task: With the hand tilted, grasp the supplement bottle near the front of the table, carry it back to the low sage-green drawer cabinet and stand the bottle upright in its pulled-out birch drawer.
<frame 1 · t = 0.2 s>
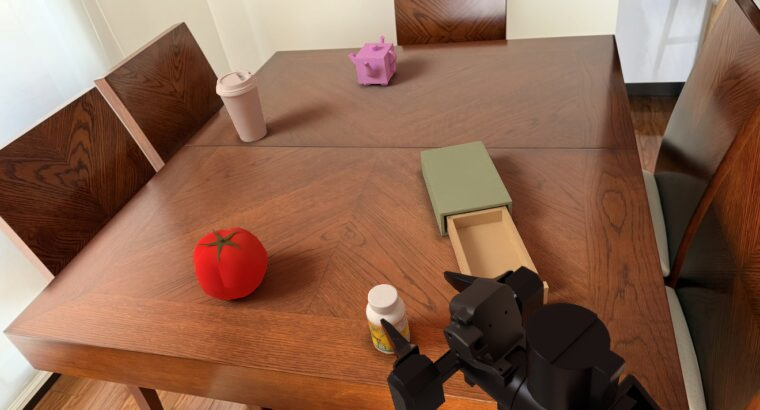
hand: (414, 297, 54), 18 cm above the table, tool horizontal, fingers open, 9 cm apart
drawer: (495, 266, 76), point 3 cm above the table, slide at 17.0 cm
cabinet: (463, 196, 94), on the table
coffee cup: (254, 135, 123), on the table
tomato: (241, 285, 84), on the table
supplement bottle: (391, 339, 72), on the table
teapot: (376, 80, 137), on the table
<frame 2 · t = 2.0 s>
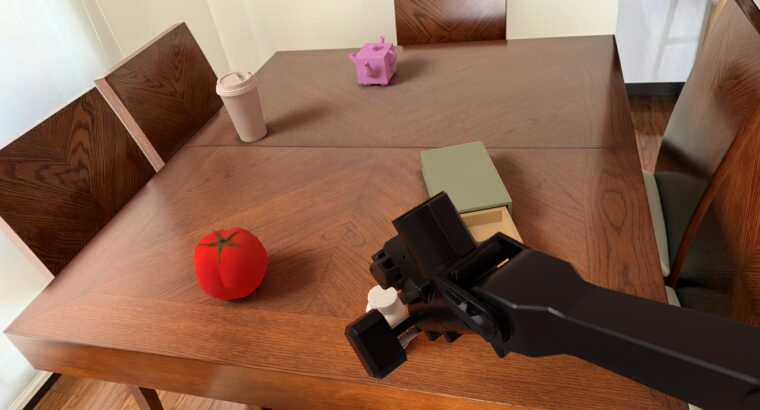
hand: (400, 307, 62), 11 cm above the table, tool tilted 45°, fingers open, 9 cm apart
nothing on the table moved.
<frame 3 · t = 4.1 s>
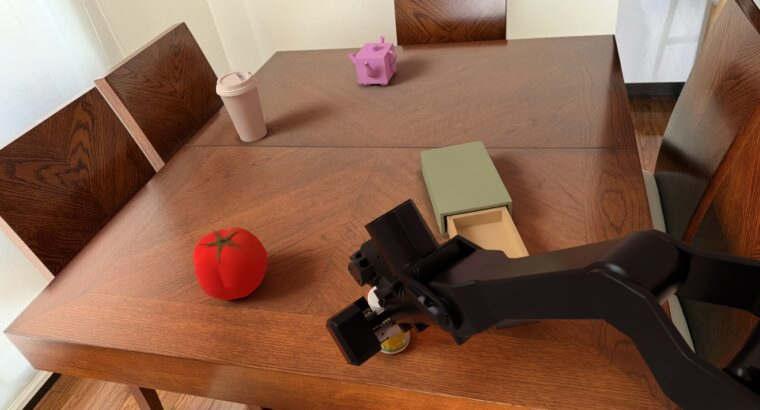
hand: (379, 304, 68), 7 cm above the table, tool tilted 45°, fingers closed on supplement bottle, 5 cm apart
supplement bottle: (391, 339, 72), on the table, touching gripper
everything else where it was.
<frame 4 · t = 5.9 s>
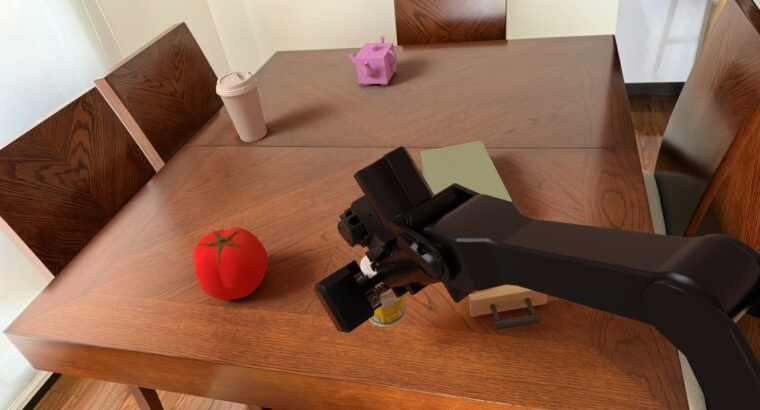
hand: (373, 273, 64), 13 cm above the table, tool tilted 45°, fingers closed on supplement bottle, 5 cm apart
supplement bottle: (386, 313, 68), point 6 cm above the table, touching gripper
everything else where it was.
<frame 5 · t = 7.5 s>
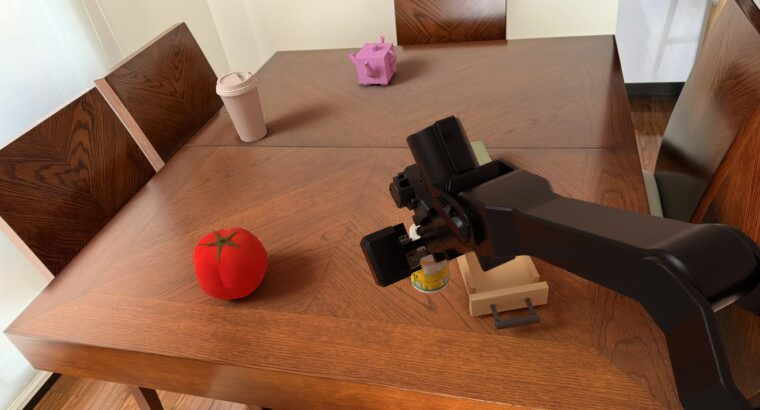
hand: (422, 240, 67), 13 cm above the table, tool tilted 45°, fingers closed on supplement bottle, 5 cm apart
supplement bottle: (430, 281, 70), point 7 cm above the table, touching gripper
everything else where it was.
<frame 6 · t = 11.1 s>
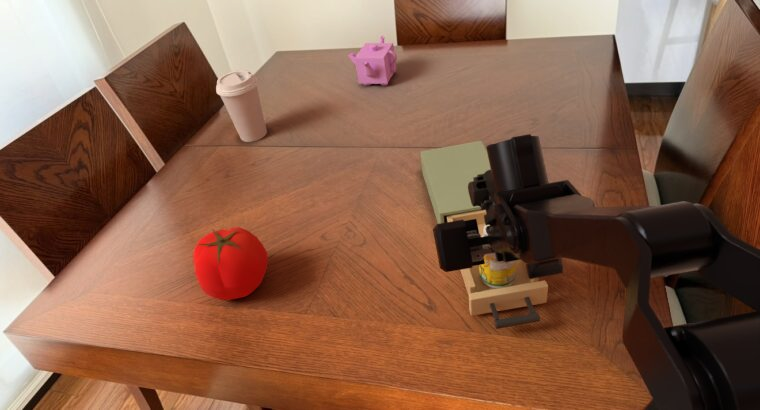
hand: (495, 238, 73), 8 cm above the table, tool tilted 45°, fingers closed on supplement bottle, 5 cm apart
drawer: (494, 265, 76), point 3 cm above the table, slide at 16.8 cm, touching supplement bottle
supplement bottle: (497, 277, 76), point 2 cm above the table, touching drawer, gripper
everything else where it was.
when the fingers open (8 cm above the table, at t = 11.1 s): supplement bottle stays where it is, resting on drawer.
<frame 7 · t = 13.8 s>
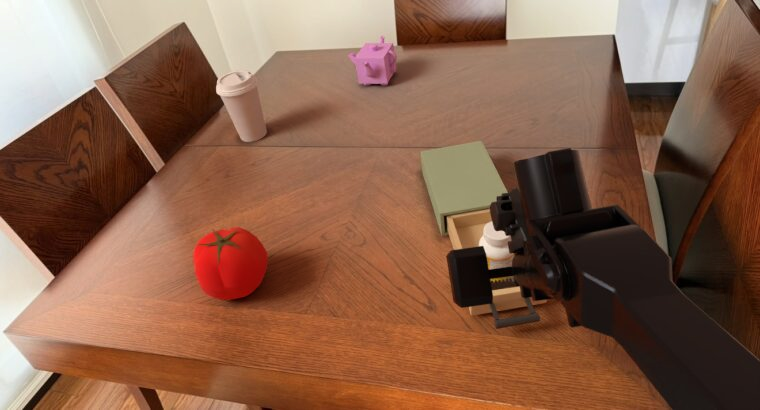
hand: (516, 266, 63), 13 cm above the table, tool tilted 45°, fingers open, 9 cm apart
supplement bottle: (497, 277, 76), point 2 cm above the table, touching drawer
everything else where it was.
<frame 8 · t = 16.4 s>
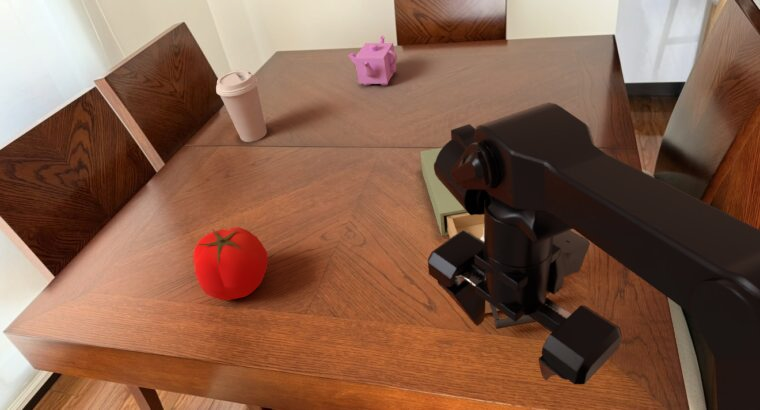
hand: (511, 348, 53), 13 cm above the table, tool pointing down, fingers open, 9 cm apart
nothing on the table moved.
at the end: supplement bottle inside the target area in the drawer (0.0 cm from its centre), point 1.6 cm above the cabinet's base; supplement bottle tilted 0°; the gripper is holding nothing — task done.
